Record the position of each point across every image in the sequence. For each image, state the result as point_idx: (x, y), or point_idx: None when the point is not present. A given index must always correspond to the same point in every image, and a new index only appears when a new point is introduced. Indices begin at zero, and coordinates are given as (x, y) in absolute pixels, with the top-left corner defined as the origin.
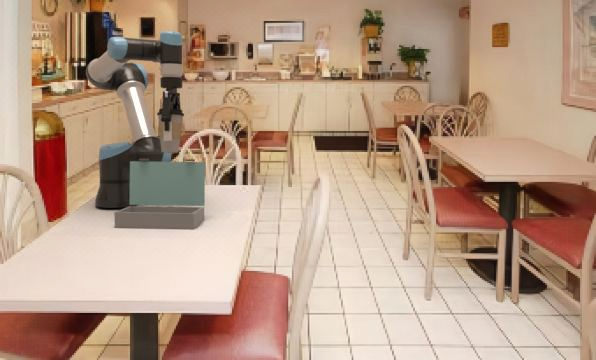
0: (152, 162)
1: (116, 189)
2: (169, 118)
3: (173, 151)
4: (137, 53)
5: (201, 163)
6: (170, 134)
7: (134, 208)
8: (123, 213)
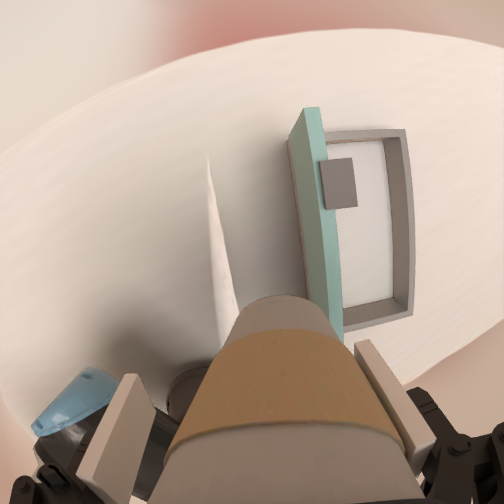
0: None
1: None
2: (471, 454)
3: (317, 307)
4: None
5: (320, 122)
6: (386, 370)
7: None
8: (413, 296)
